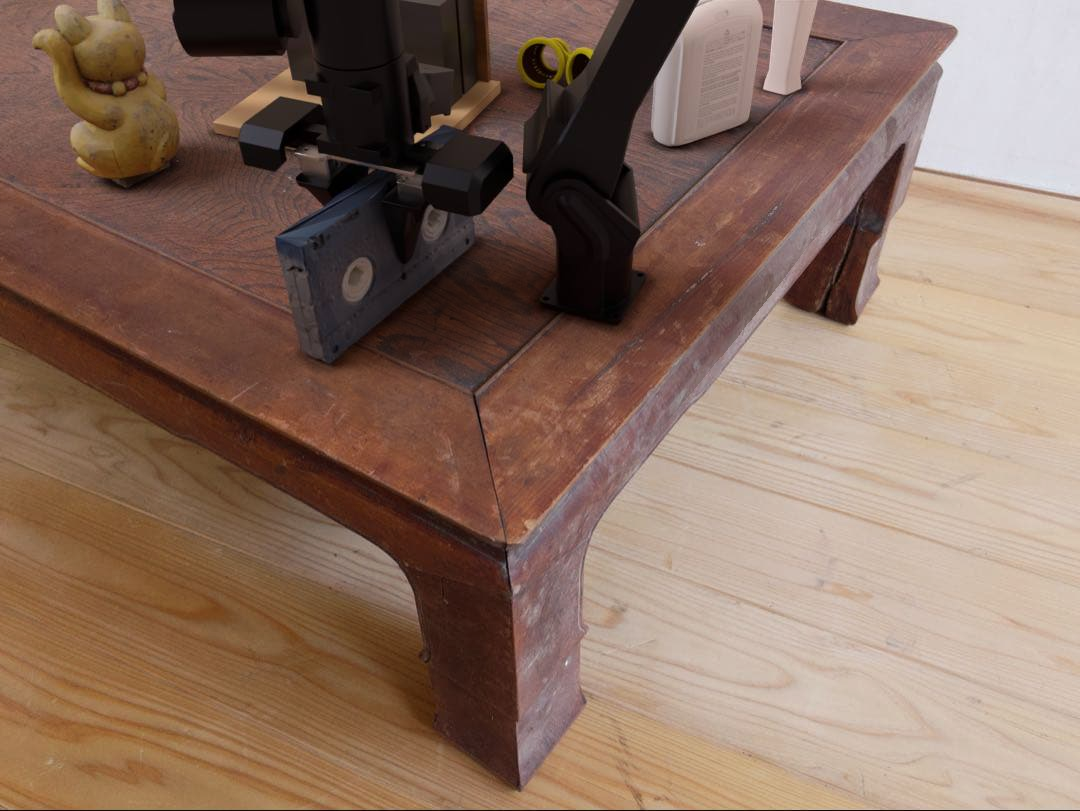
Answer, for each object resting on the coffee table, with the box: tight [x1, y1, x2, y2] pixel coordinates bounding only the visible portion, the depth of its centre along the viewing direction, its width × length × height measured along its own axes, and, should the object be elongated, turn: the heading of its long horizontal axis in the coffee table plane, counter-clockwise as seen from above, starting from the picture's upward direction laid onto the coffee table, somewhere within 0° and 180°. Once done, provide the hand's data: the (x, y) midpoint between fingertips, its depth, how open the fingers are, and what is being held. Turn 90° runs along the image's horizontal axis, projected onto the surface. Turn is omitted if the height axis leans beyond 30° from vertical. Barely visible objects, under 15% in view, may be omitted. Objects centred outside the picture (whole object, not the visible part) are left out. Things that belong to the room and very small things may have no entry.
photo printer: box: [650, 0, 764, 147], centre depth 89 cm, size 10×4×12 cm, turn 123°
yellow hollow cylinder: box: [516, 36, 595, 89], centre depth 99 cm, size 10×5×5 cm, turn 58°
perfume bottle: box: [762, 0, 819, 96], centre depth 95 cm, size 5×4×15 cm
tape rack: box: [212, 0, 502, 151], centre depth 93 cm, size 18×22×11 cm
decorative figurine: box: [31, 0, 181, 189], centre depth 85 cm, size 10×8×15 cm
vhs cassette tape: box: [274, 125, 476, 365], centre depth 72 cm, size 18×3×10 cm, turn 146°
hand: (389, 256), depth 73 cm, fingers closed on vhs cassette tape, 3 cm apart
